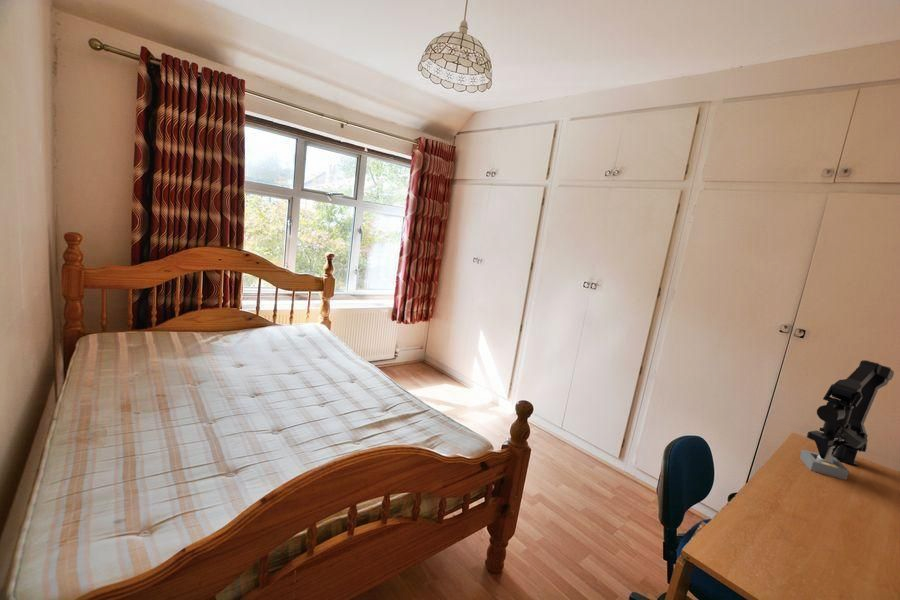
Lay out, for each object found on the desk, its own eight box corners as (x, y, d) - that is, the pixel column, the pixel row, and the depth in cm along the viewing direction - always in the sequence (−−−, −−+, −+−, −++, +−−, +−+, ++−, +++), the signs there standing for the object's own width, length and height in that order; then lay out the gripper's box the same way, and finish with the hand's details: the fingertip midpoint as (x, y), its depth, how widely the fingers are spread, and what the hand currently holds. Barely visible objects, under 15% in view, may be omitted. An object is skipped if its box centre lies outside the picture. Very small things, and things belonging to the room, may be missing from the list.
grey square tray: (799, 457, 153) (802, 448, 153) (832, 466, 149) (835, 457, 149) (810, 470, 144) (813, 461, 144) (846, 480, 140) (849, 470, 140)
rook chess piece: (813, 460, 147) (819, 440, 146) (819, 458, 149) (824, 439, 148) (828, 467, 144) (834, 447, 142) (834, 465, 145) (840, 445, 144)
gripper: (851, 431, 133) (838, 473, 135) (881, 427, 139) (867, 467, 142) (811, 415, 143) (800, 455, 145) (841, 412, 150) (829, 450, 152)
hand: (825, 457), depth 146 cm, fingers closed on rook chess piece, 3 cm apart
